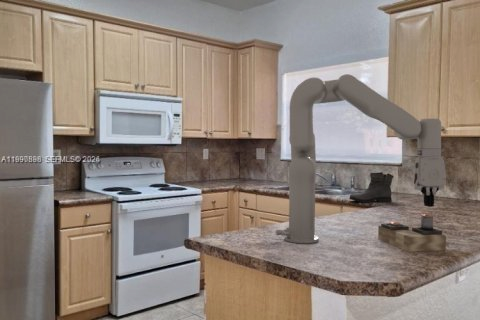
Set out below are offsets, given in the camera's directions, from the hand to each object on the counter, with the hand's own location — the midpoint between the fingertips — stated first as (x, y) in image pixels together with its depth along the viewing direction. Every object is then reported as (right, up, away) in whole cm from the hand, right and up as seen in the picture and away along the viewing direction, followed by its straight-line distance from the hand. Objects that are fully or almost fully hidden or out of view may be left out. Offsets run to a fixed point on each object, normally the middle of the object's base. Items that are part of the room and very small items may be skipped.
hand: (428, 206), depth 151 cm
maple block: (-5, -14, +4) cm, 16 cm away
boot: (+17, -11, +124) cm, 126 cm away
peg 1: (-9, -14, +8) cm, 18 cm away
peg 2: (-1, -10, 0) cm, 10 cm away
